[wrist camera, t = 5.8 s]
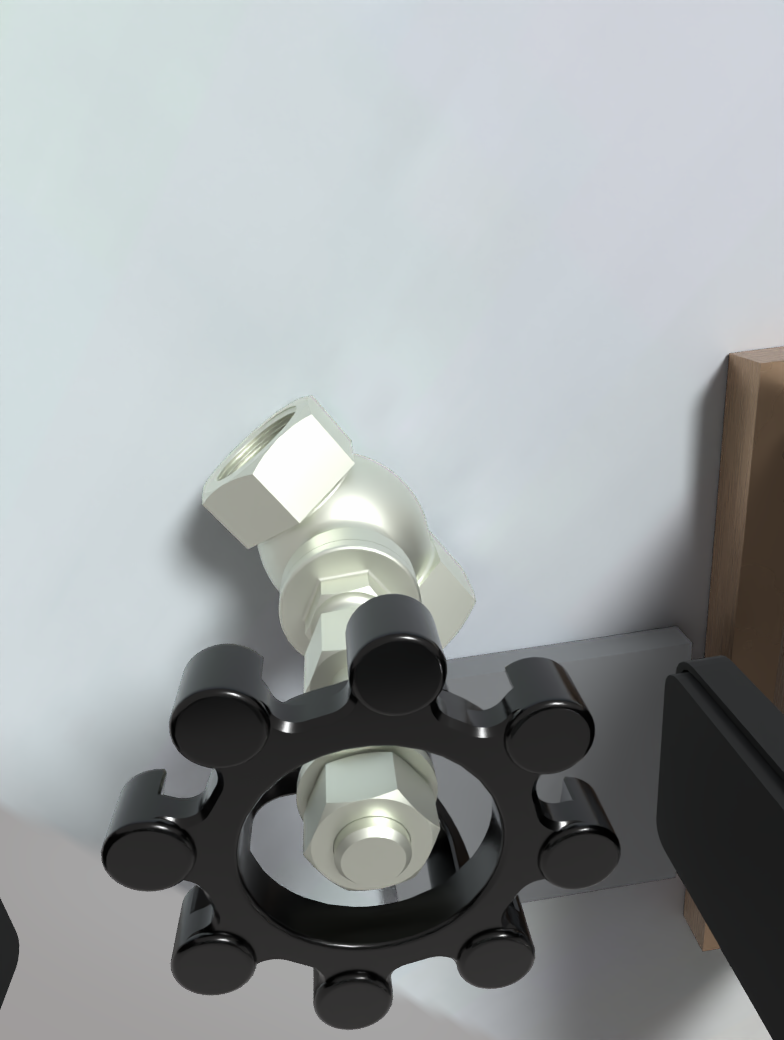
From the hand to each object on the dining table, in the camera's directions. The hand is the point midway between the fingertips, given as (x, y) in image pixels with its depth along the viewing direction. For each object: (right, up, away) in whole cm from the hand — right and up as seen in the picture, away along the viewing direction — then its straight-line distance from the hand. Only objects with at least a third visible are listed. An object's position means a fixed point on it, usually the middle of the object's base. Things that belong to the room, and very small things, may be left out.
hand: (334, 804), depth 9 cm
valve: (-1, +4, +11) cm, 12 cm away
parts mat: (+5, -5, +15) cm, 17 cm away
